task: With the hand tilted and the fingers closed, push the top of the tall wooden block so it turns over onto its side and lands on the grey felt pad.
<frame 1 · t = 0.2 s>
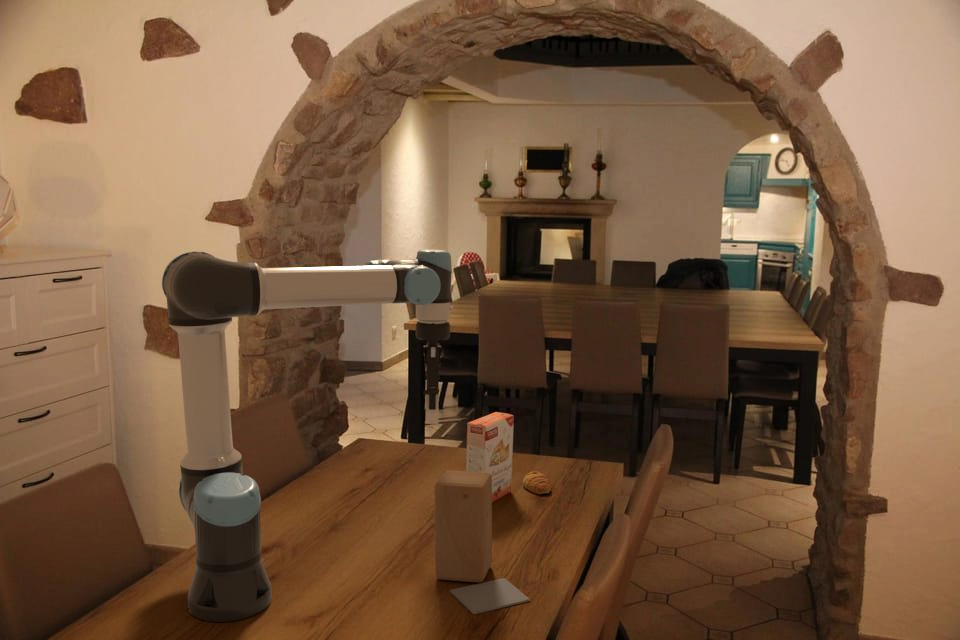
hand: (431, 415, 189), 28 cm above the table, tool pointing down, fingers open, 13 cm apart
cracker box: (489, 498, 216), on the table
wooden block: (464, 573, 173), on the table, touching felt pad
pastry: (538, 489, 224), on the table
felt pad: (489, 596, 163), on the table
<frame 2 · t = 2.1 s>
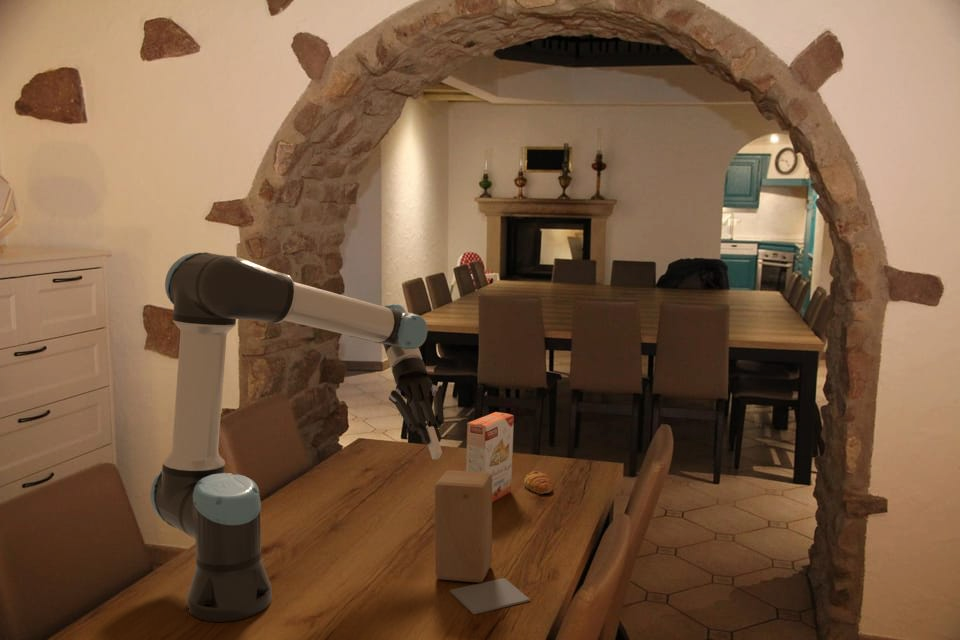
hand: (437, 456, 182), 21 cm above the table, tool tilted 45°, fingers closed
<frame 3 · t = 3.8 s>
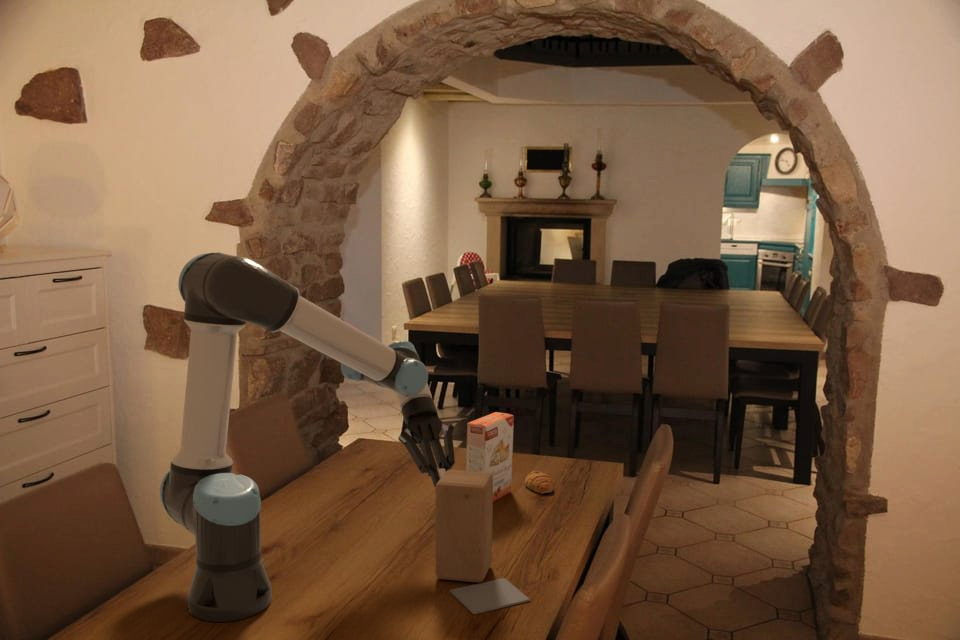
hand: (448, 499, 178), 13 cm above the table, tool tilted 45°, fingers closed
wooden block: (464, 572, 173), on the table, touching felt pad, gripper
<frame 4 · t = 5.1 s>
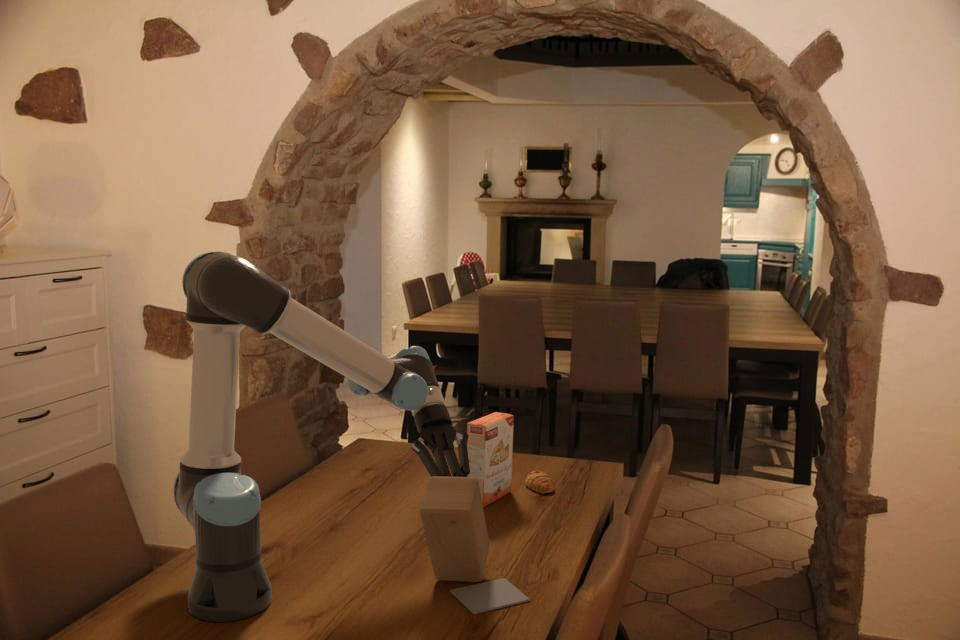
hand: (463, 510, 172), 13 cm above the table, tool tilted 45°, fingers closed
wooden block: (463, 563, 172), point 2 cm above the table, touching felt pad, gripper
everything else where it was.
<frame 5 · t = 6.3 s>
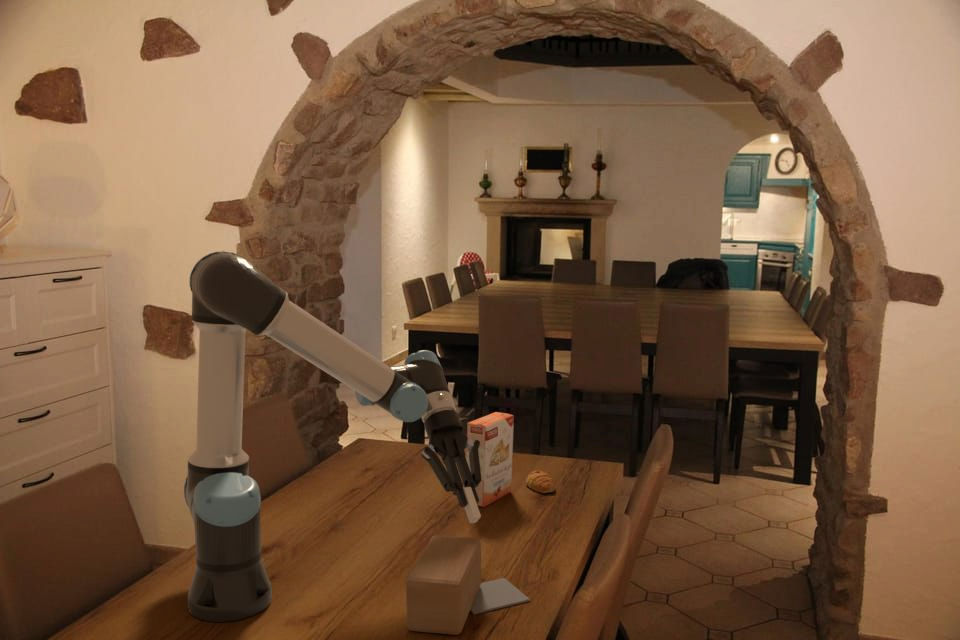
hand: (475, 519, 167), 13 cm above the table, tool tilted 45°, fingers closed
wooden block: (457, 558, 167), point 5 cm above the table, touching felt pad
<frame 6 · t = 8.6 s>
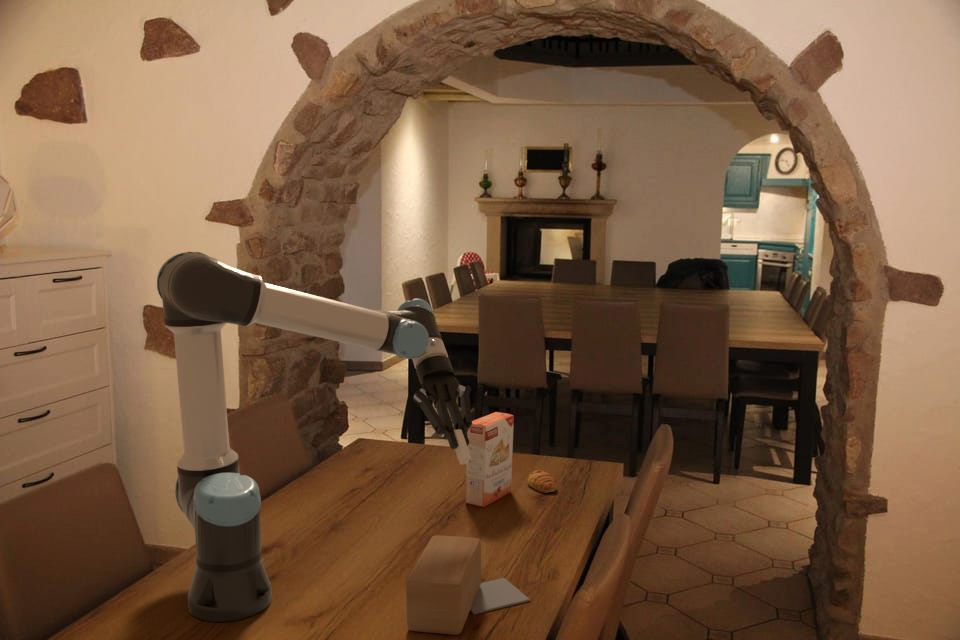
hand: (465, 461, 169), 24 cm above the table, tool tilted 45°, fingers closed
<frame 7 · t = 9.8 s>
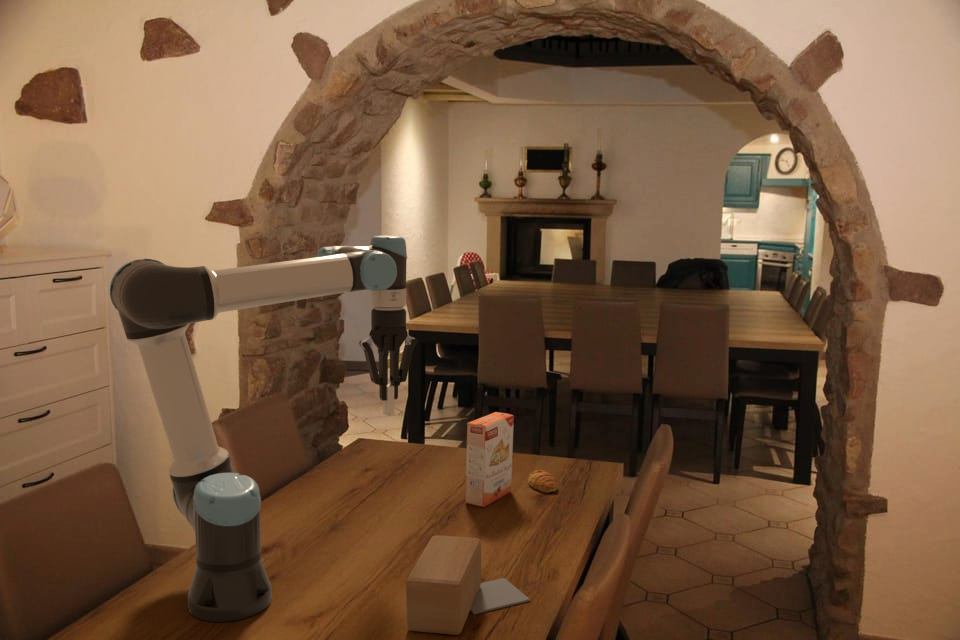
hand: (388, 414, 187), 28 cm above the table, tool pointing down, fingers closed
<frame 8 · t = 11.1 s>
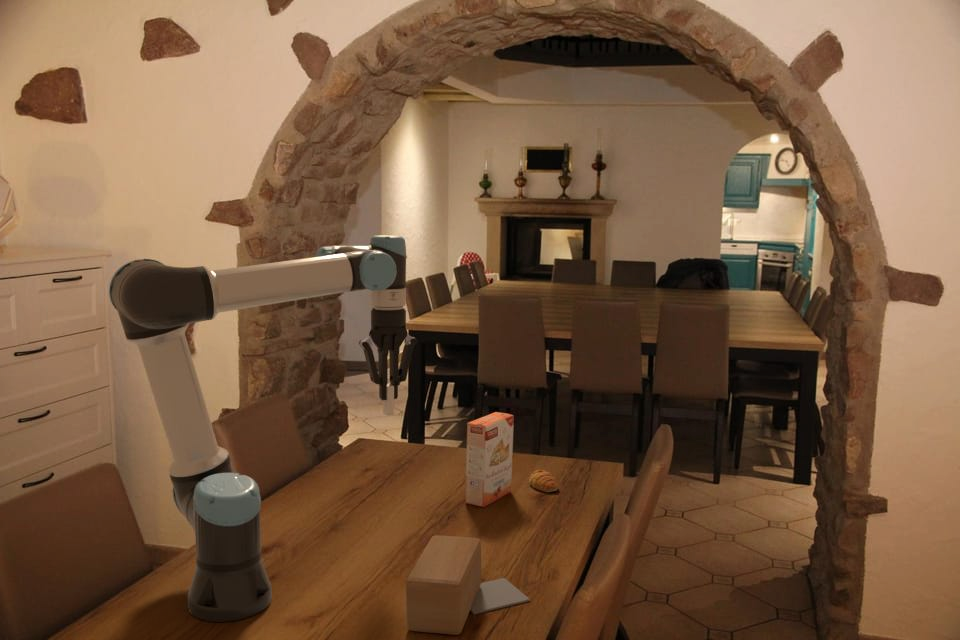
hand: (388, 413, 187), 28 cm above the table, tool pointing down, fingers closed
at the end: wooden block tilted 91°; wooden block inside the target area (4.7 cm from its centre), point 5.5 cm above the table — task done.
